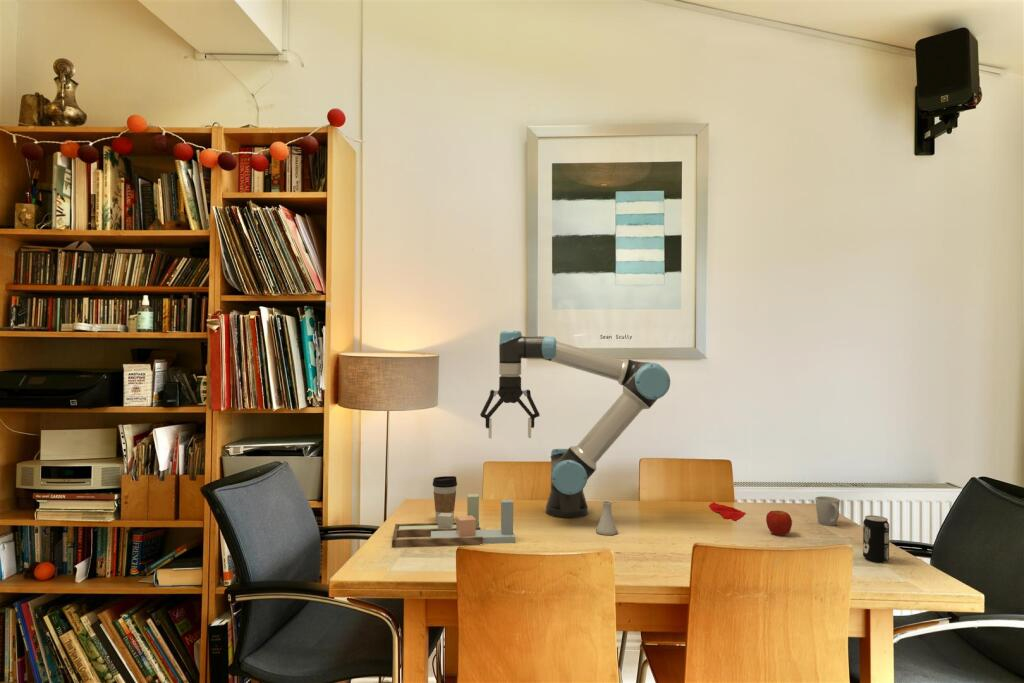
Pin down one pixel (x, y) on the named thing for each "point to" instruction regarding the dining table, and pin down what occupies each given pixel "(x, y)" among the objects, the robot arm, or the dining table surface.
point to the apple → (779, 522)
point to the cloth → (727, 511)
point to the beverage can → (876, 539)
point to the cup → (827, 510)
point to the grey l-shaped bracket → (471, 510)
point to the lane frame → (427, 533)
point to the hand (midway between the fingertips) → (509, 437)
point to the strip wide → (494, 534)
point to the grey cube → (445, 520)
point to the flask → (606, 521)
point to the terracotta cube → (465, 526)
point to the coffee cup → (444, 494)
